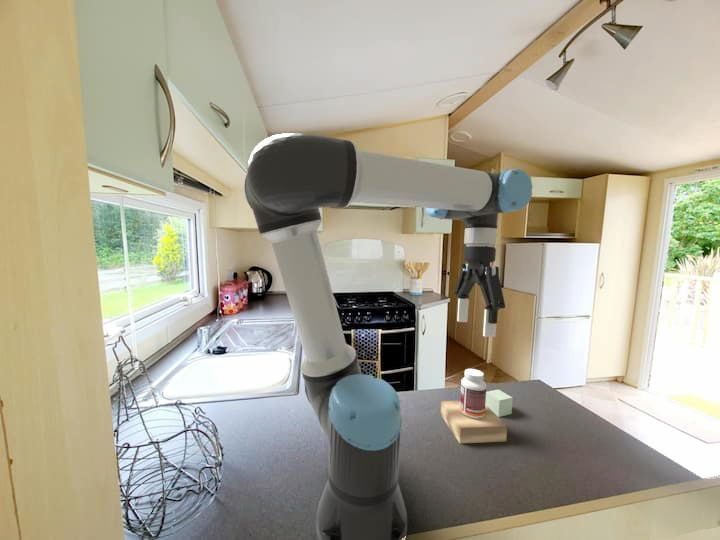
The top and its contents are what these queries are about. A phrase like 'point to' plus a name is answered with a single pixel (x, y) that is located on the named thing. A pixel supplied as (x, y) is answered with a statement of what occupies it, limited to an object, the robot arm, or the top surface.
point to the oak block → (473, 424)
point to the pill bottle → (473, 394)
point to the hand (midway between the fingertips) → (474, 328)
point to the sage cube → (499, 402)
